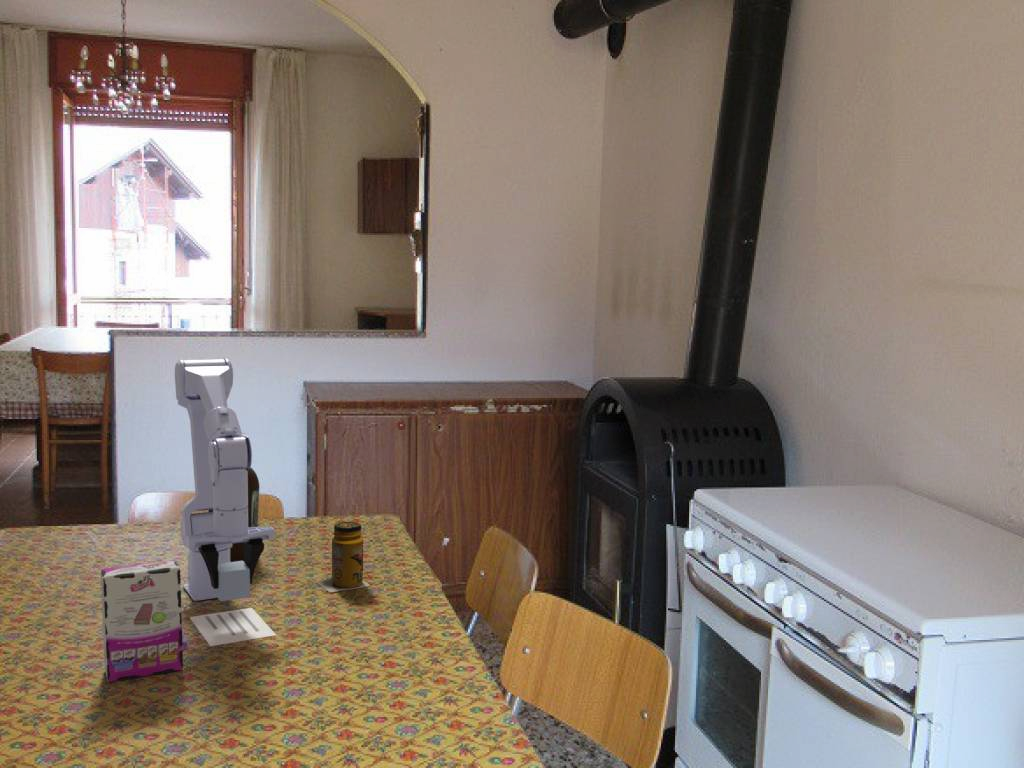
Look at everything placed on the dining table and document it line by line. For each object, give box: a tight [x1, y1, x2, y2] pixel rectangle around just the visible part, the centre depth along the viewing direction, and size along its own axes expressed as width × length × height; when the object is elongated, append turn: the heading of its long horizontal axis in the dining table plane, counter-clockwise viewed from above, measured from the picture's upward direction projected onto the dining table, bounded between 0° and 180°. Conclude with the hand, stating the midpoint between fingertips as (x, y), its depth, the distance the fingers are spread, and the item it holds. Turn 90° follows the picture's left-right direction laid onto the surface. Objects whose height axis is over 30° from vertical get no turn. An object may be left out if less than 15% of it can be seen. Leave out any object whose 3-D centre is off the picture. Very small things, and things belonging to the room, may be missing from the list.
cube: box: [214, 561, 251, 602], centre depth 177 cm, size 5×5×5 cm
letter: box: [189, 607, 277, 647], centre depth 179 cm, size 15×11×1 cm
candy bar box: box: [100, 559, 184, 683], centre depth 158 cm, size 11×5×16 cm, turn 117°
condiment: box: [315, 521, 371, 594], centre depth 201 cm, size 7×8×12 cm
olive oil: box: [207, 467, 260, 563], centre depth 217 cm, size 11×11×25 cm
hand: (231, 584), depth 178 cm, fingers closed on cube, 5 cm apart
